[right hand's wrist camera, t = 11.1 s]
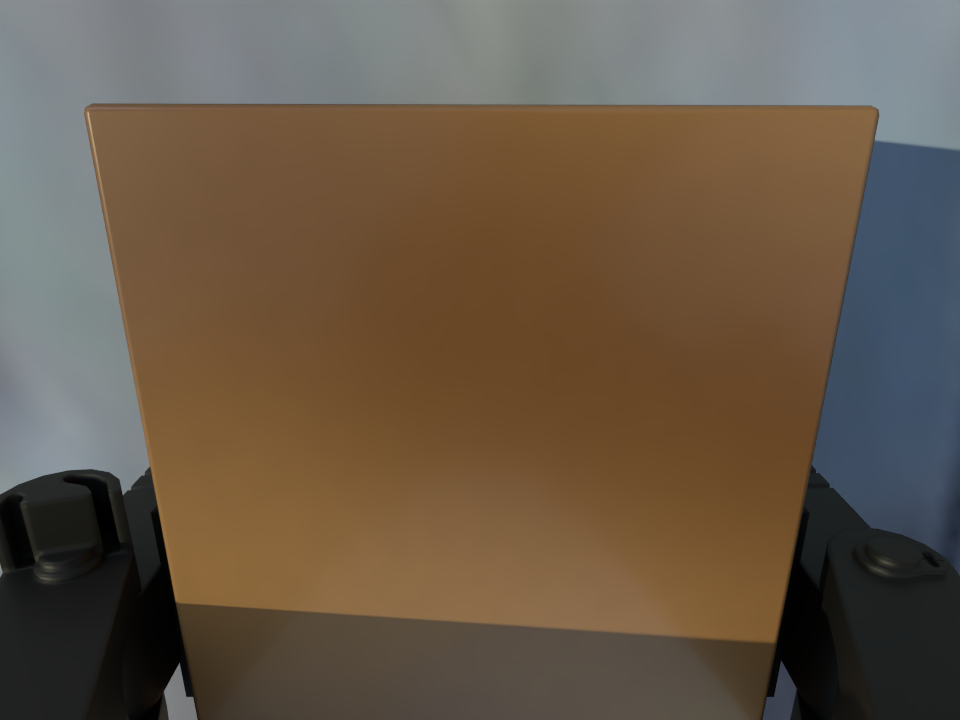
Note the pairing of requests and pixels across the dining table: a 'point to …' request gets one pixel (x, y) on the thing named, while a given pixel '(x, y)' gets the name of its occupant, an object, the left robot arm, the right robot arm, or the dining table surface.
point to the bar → (480, 394)
